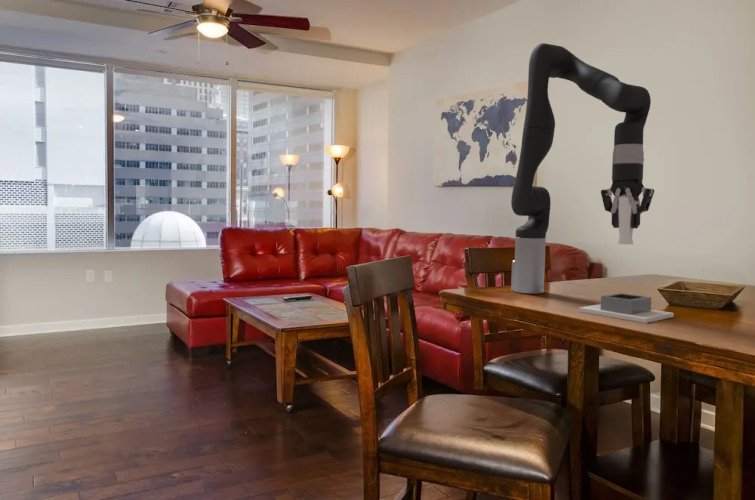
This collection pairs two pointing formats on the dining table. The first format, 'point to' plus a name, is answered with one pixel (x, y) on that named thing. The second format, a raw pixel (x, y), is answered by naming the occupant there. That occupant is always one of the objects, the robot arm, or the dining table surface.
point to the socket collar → (626, 303)
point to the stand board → (639, 317)
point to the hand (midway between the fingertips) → (625, 227)
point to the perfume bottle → (625, 220)
